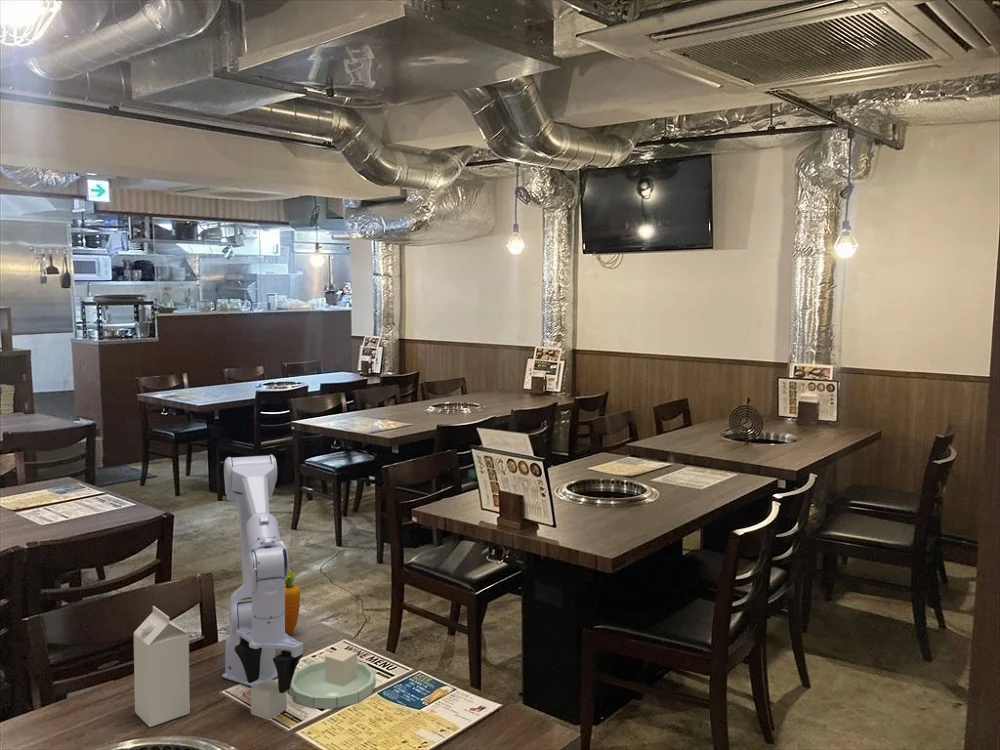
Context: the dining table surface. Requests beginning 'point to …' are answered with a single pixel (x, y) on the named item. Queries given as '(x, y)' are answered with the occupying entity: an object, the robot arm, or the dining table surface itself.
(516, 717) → the dining table surface
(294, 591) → the carrot
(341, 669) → the beige stone block
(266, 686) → the grey stone block
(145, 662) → the milk carton
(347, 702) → the serving bowl
